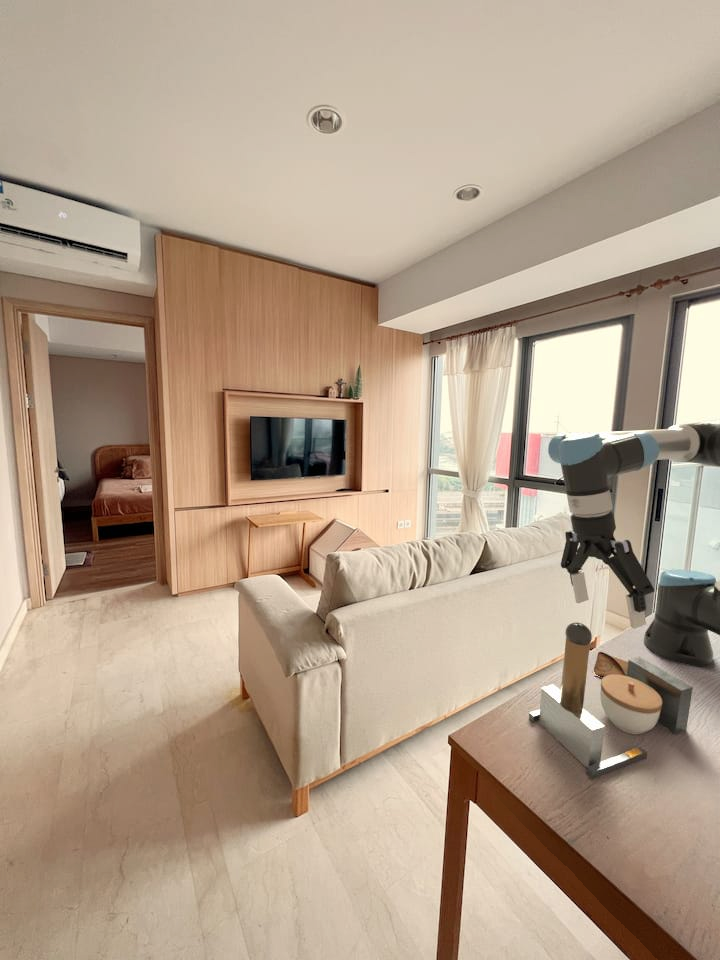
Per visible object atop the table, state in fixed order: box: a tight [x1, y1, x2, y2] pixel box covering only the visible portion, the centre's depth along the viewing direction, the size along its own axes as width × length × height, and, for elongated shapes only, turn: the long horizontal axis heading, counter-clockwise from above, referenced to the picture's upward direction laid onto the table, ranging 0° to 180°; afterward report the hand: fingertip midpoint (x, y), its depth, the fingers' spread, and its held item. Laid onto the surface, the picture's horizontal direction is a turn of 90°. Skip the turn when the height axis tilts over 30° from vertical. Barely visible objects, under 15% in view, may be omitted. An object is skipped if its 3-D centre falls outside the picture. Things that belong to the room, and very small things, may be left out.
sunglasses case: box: [593, 651, 628, 679], centre depth 97 cm, size 18×7×7 cm, turn 48°
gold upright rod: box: [538, 621, 605, 768], centre depth 76 cm, size 4×12×25 cm, turn 19°
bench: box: [528, 656, 694, 781], centre depth 81 cm, size 29×15×10 cm, turn 109°
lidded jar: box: [600, 675, 663, 735], centre depth 83 cm, size 11×11×9 cm
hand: (608, 612), depth 80 cm, fingers open, 13 cm apart
